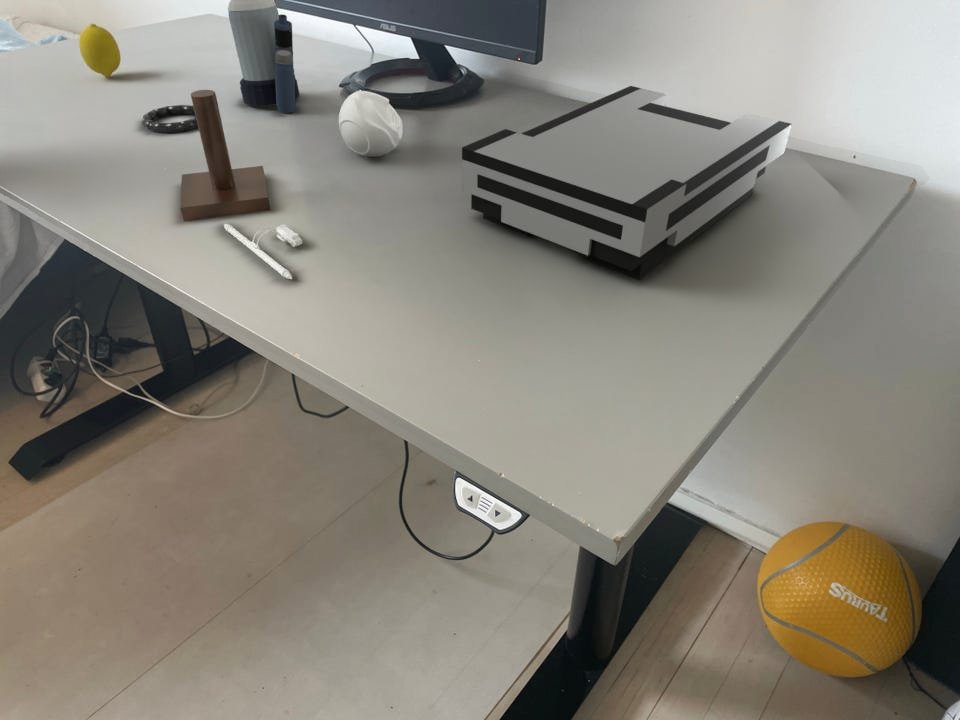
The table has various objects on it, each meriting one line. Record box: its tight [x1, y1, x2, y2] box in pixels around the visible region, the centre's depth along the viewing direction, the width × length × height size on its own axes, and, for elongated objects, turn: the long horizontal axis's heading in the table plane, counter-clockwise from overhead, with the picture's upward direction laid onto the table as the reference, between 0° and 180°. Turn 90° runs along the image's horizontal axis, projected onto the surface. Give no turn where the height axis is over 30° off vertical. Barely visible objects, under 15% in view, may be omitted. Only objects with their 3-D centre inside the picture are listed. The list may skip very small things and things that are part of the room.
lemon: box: [78, 23, 121, 78], centre depth 113 cm, size 6×6×8 cm
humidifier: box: [227, 0, 300, 107], centre depth 99 cm, size 8×8×25 cm
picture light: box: [223, 223, 303, 280], centre depth 70 cm, size 14×4×2 cm, turn 41°
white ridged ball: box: [338, 90, 403, 158], centre depth 88 cm, size 8×8×8 cm
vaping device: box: [274, 14, 296, 114], centre depth 99 cm, size 3×5×12 cm, turn 11°
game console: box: [461, 85, 793, 281], centre depth 77 cm, size 21×32×8 cm, turn 139°
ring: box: [141, 104, 198, 134], centre depth 98 cm, size 8×8×1 cm
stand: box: [179, 89, 272, 222], centre depth 76 cm, size 9×9×12 cm
